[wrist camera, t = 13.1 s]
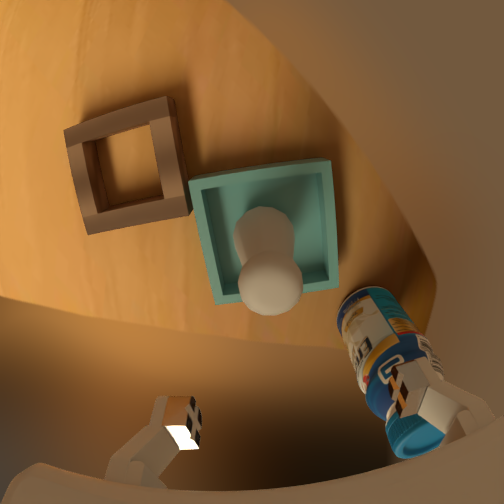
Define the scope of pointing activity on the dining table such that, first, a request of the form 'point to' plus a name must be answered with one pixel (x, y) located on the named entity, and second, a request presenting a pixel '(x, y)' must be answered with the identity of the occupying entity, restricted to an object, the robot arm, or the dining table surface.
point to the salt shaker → (267, 261)
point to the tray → (268, 195)
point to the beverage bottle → (387, 363)
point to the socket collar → (167, 157)
